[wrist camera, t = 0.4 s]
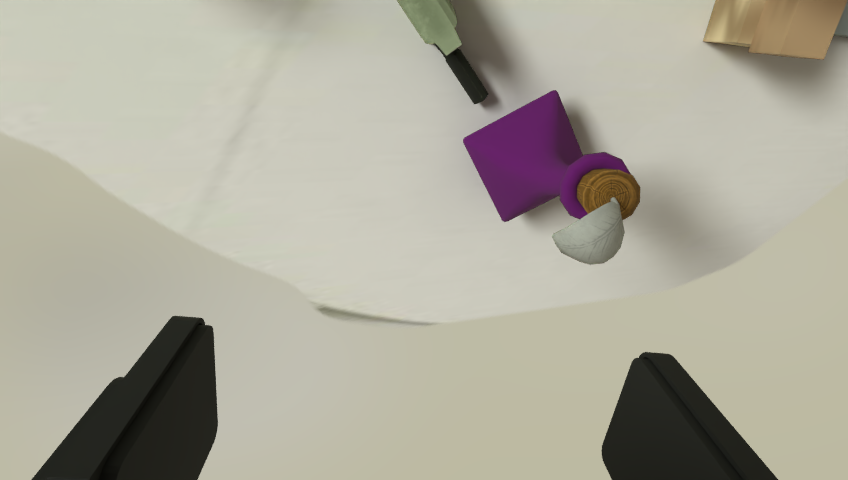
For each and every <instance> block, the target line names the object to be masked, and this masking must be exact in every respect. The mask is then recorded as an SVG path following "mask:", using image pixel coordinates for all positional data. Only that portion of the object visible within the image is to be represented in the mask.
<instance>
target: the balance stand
mask: <svg viewBox="0 0 848 480" xmlns="http://www.w3.org/2000/svg"><path fill="white" fill-rule="evenodd" d="M834 36H842V37H848V0H847V3H846V5H845V8H844V10H843V13H842V15H841V18H840V20H839V23H838V25H837V28H836V30H835V33H834Z"/></svg>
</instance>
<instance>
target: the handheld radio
mask: <svg viewBox="0 0 848 480" xmlns="http://www.w3.org/2000/svg"><path fill="white" fill-rule="evenodd" d="M397 1H398V3H399V4H400V6H401V7H402V9H403V10H404V12H405V13H406V15H407V17H408V18H409V20H410V21H411V23H412V24H413V26H414V27H415V29H416V30H417V32H418V33H419V35H420V36H421V38H422V39H423V40H424V42H425V43H426V44H431V45H432V44H435V46H436V47H437V48H438V50H440V51H441V52H442V54H443V56H444V57H445V59H446V62H447V63H448V65H449V67H450V68H451V70H452V71H453V73H454V74H455V76H456V77H457V79H458V80H459V82H460V83H461V85H462V86H463V88H464V89H465V91H466V92H467V94H468V95H469V97H470V99H471V100H472V102H473V103H474V104H477V103H480V102H482V101H483V100H484V99H485V98H486V97H487V96H488V92H487V91H486V89H485V88H484V86H483V85H482V83H481V81H480V80H479V78H478V77H477V75H476V74H475V72H474V70H473V69H472V67H471V66H470V64H469V63H468V61H467V60H466V58H465V56H464V55H463V53H462V52H461V50H459V49H458V47H460V46H461V45H462V43H461V41H460V38H459V36H458V34H457V32H456V30H455V28H456V25H457V19H456V14H455V10H454V8H453V6H452V4H451V3H450V1H449V0H397Z"/></svg>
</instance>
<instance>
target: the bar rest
mask: <svg viewBox="0 0 848 480" xmlns="http://www.w3.org/2000/svg"><path fill="white" fill-rule="evenodd" d="M765 2H766V0H716V1H715V5H714V8H713V11H712V14H711V18H710V21H709V24H708V27H707V30H706V34H705V37H704V40H703V41H705V42H713V43H721V44H729V45H737V46H746V47H750V46H751V43H752V40H753V37H754V34H755V31H756V28H757V25H758V22H759V19H760V17H761V14H762V11H763V8H764V5H765Z"/></svg>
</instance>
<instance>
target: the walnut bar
mask: <svg viewBox="0 0 848 480" xmlns="http://www.w3.org/2000/svg"><path fill="white" fill-rule="evenodd" d="M846 3H847V0H766V2H765V5H764V8H763V11H762V14H761V17H760V19H759V22H758V25H757V28H756V31H755V34H754V37H753V40H752V43H751V46H750V48H749V51H748V52H752V53H760V54H768V55H776V56H785V57H796V58H810V59H824V57H825V55H826V52H827V50H828V47H829V45H830V43H831V40H832V38H833V35H834V33H835V30H836V28H837V25H838V23H839V20H840V18H841V15H842V13H843V10H844V8H845V5H846Z"/></svg>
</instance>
